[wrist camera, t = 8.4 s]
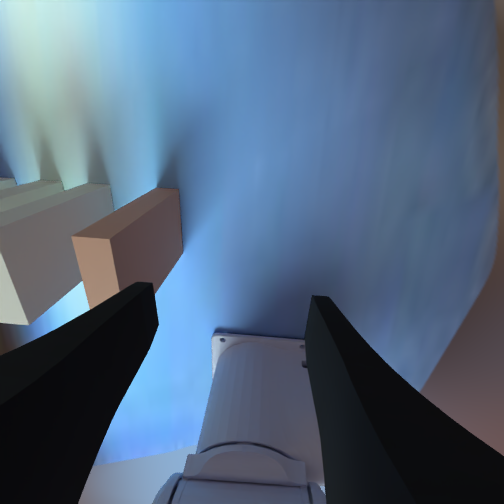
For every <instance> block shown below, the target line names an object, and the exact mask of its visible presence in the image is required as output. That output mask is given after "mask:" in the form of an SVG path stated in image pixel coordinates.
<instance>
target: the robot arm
mask: <svg viewBox="0 0 504 504" xmlns="http://www.w3.org/2000/svg"><path fill="white" fill-rule="evenodd" d="M158 325H159V322H158V315H157V308H156V301H155V294H154V287H153V283H150V282H135V283H133V284H132V285H130V286H128V287H126V288H125V289H123V290H121V291H120V292H118V293H116V294H115V295H113V296H112V297H110V298H108V299H107V300H105V301H103V302H102V303H100V304H99V305H97V306H95V307H94V308H92V309H90V310H89V311H87V312H85V313H84V314H82V315H80V316H78V317H76V318H75V319H73V320H71V321H69V322H68V323H66V324H64V325H62V326H60V327H59V328H57V329H55V330H53V331H51V332H49V333H47V334H45V335H43V336H41V337H39V338H37V339H35V340H33V341H31V342H29V343H27V344H25V345H23V346H21V347H19V348H16V349H14V350H12V351H10V352H8V353H5V354H3V355H0V504H78V502H79V499H80V497H81V494H82V491H83V489H84V486H85V484H86V481H87V478H88V476H89V474H90V471H91V469H92V466H93V464H94V461H95V459H96V456H97V454H98V451H99V449H100V447H101V444H102V442H103V440H104V437H105V435H106V433H107V430H108V428H109V426H110V423H111V421H112V419H113V417H114V415H115V413H116V411H117V409H118V407H119V405H120V403H121V401H122V399H123V397H124V395H125V394H126V392H127V390H128V388H129V386H130V384H131V383H132V381H133V379H134V377H135V375H136V373H137V372H138V370H139V368H140V366H141V364H142V362H143V360H144V358H145V357H146V355H147V353H148V351H149V349H150V347H151V344H152V341H153V339H154V336H155V334H156V331H157V328H158ZM222 338H224V339H222ZM300 345H304V346H300ZM320 486H325V494H326V495H325V494H324V492H323V491H322V490H321V488H320ZM152 504H504V456H503V455H501V454H500V453H499V452H497V451H496V450H494V449H493V448H491V447H490V446H489V445H487V444H485V443H484V442H483V441H482V440H480V439H479V438H477V437H476V436H474V435H473V434H472V433H470V432H469V431H468V430H466V429H465V428H463V427H462V426H461V425H459V424H458V423H456V422H455V421H454V420H453V419H451V418H450V417H449V416H448V415H446V414H445V413H444V412H442V411H441V410H440V409H439V408H438V407H436V406H435V405H434V404H432V403H431V402H430V401H429V400H428V399H426V398H425V397H424V396H423V395H421V394H420V393H419V392H418V391H417V390H416V389H414V388H413V387H412V386H411V385H410V384H409V383H408V382H407V381H405V380H404V379H403V378H402V377H401V376H400V375H399V374H398V373H397V372H395V371H394V370H393V369H392V368H391V367H390V366H389V365H388V364H387V363H386V362H385V361H384V360H383V359H382V358H381V357H380V356H379V355H378V354H377V353H376V352H375V351H374V350H373V349H372V348H371V347H370V345H369V344H368V343H367V342H366V341H365V340H364V339H363V338H362V336H361V335H360V334H359V333H358V332H357V331H356V330H355V328H354V327H353V326H352V325H351V324H350V322H349V321H348V320H347V319H346V318H345V316H344V315H343V314H342V313H341V311H340V310H339V309H338V307H337V306H336V305H335V304H334V302H333V301H332V300H331V299H330V298H329V297H327V296H315V295H312V298H311V304H310V309H309V315H308V320H307V326H306V331H305V340H298V339H286V338H275V337H263V336H252V335H240V334H229V333H214V334H213V335H212V386H211V390H210V394H209V398H208V403H207V407H206V411H205V416H204V420H203V424H202V429H201V433H200V437H199V441H198V446H197V451H196V454H189V455H188V456H187V460H186V464H185V468H184V472H183V473H174V474H173V475H172V476H170V478H169V479H168V480H167V482H166V483H165V484H164V485H163V486H162V488H161V489H160V490H159V491H158V493H157V495H156V497H155V499H154V501H153V503H152Z"/></svg>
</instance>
